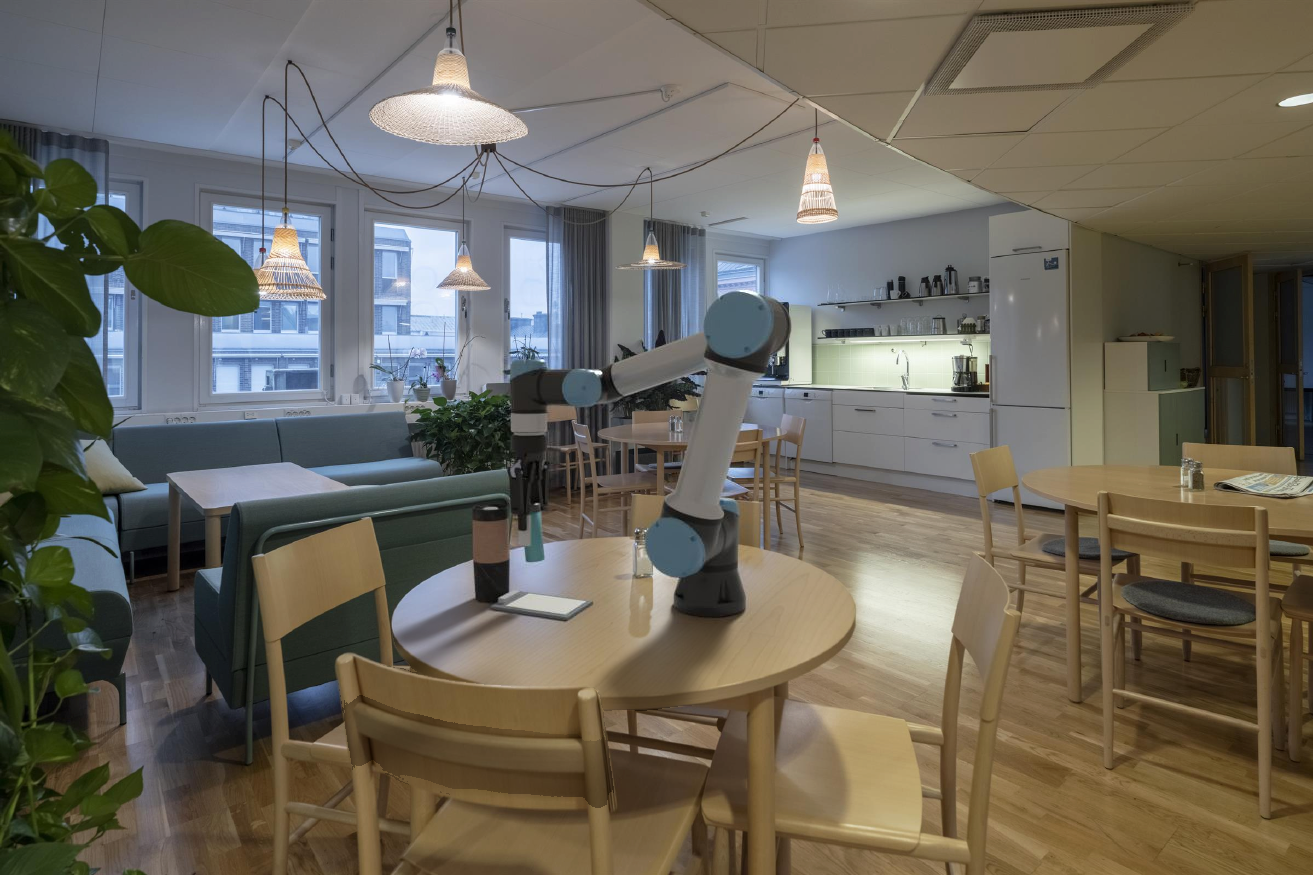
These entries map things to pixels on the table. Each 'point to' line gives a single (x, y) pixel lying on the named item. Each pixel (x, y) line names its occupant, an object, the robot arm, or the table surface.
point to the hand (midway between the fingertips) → (530, 542)
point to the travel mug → (491, 552)
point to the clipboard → (541, 605)
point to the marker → (535, 535)
